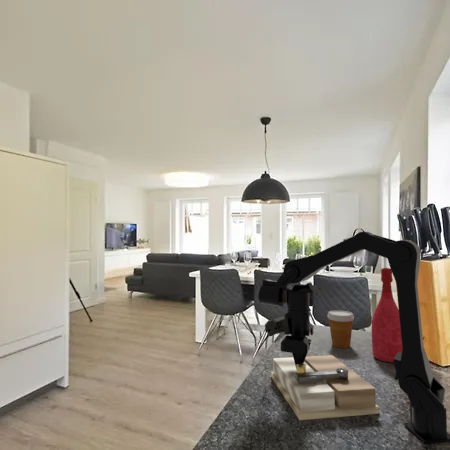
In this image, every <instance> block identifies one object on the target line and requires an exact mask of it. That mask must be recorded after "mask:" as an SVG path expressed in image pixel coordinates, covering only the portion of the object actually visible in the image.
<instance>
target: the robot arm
mask: <svg viewBox="0 0 450 450" xmlns="http://www.w3.org/2000/svg"><path fill="white" fill-rule="evenodd" d="M364 250H365V251H367V252H370V253H373V254H374V255H377V256H380V257H383V258H385V259H387V261H388V265H389V268H390V269H391V271H392V277H393V278H394V281H395V284H396V292H397V293H396V294H397V304H398V306H397V307H398V309H399V317H400V328H401V338H402V353H401V352H398V353H397V355H396V356H395V358H394V360H393V361H394V363H393V364H394V368H395V376H394V381H398V382H397V383H398V385H399V388H400V390H401V391H403V392H404V393H405V394H406V395H407V398H408V400H409V413H410V414H409V416H410V421H408V422H407V421H406V422H404V427H406V428H407V429H408V430H409V431H410V432H412V433H413V434H414V435H415V436H416V437H417V438H419V439H420V440H421V441H423V443H426V444H431V443H442V442H450V433H449V432H448V425H447V424H448V420H447V416H448V415H447V408H445V404H444V401H445V393H446V388H445V387H444V386H443V385H442V384H441V383H440V382H439V380H437V379H436V378H435V377H434V373H433V370H432V367H431V363H430V360H429V358H428V354H427V353H426V351H425V348H424V339H423V338H424V337H423V329H422V327H423V326H422V320H421V319H422V318H421V307H420V300H419V290H418V288H419V287H418V286H419V285H418V279H419V272H420V266H421V265H420V264H421V256H422V253H421V248H420V247H419V245H418V244H417V243H416V242H415V241H411V240H410V239H408V240H407V239H401V240H399V239H398V240H395V239H391V238H387V237H385V236H382V235H381V236H380V235H376V234H374V233H372V232H370V231H359V232H356V233H355V235H353V236H351V237H348V238H346V239H345V240H343V241H340V242H338V243H336V244H334V245H332V246H330V247H327V248H325V249H324V250H322V251H320V252H317V253H315V254H313V255H309V256H305V257H301V258H297V259H293V260H289V261H287V262H286V263H285V264H284V266H283V269H282V271H283V272H282V273H281V275H279V277H278V279H277V280H272V279H269V278H267V279H262V284H261V285H260V288H259V292H258V295H257V296H258V301H259V302H260V304H261V305H269V306H275V307H283V306H284V305H285V304H286V313H284V316H280V317H276V318H273V319H270V320H267V321H266V322H265V324H264V328H265V329H264V332H266V333H267V335H268V337H273V336H275V335H277V334H281V333H283V334H284V335H285V336H284V337H283V338H282V339H281V342H280V351H281V352H284V353H291V354H292V357H293V358H294V362H295V366H296V364H298V363H302V364H303V363H304V361H305V358H306V356H307V355H308V353H309V350H310V347H311V344H312V339H309V338H308V337H310V335H311V336H313V335H314V325H313V324H312V323H311V322H310V317H311V311H310V294H314V293H316V292H318V288H317V287H316V286H314V285H313V283H312V282H307V283H306V284H299V283H301V282H305V281H308V280H309V279H311V278H312V277H315V275H316V274H319V272H320V271H321V270H324V269H325V268H326V267H328V266H330V265H333V264H334V263H338V262H340V261H342V260H344V259H347V258H349V257H350V256H353V255H356V254H358V253H360V252H361V251H364ZM291 285H293V286H291ZM296 369H297V366H296Z"/></svg>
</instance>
